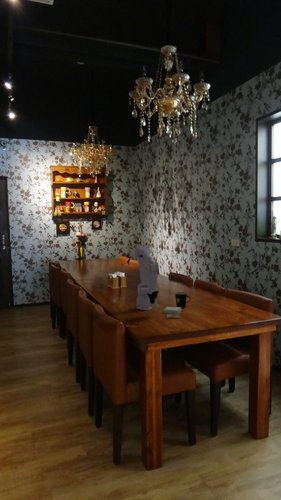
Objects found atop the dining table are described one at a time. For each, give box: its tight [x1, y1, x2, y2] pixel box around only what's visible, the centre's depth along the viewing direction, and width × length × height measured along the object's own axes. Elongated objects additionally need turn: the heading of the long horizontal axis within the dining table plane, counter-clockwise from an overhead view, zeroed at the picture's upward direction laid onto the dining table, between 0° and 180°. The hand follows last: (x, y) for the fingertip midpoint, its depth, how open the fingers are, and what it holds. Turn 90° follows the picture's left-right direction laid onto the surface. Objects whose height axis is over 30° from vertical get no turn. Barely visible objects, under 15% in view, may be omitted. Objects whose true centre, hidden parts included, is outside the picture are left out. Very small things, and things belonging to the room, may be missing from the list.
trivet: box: [165, 313, 181, 320], centre depth 211 cm, size 8×8×1 cm
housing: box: [147, 297, 160, 308], centre depth 216 cm, size 7×4×5 cm, turn 72°
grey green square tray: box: [163, 306, 182, 315], centre depth 224 cm, size 10×10×2 cm
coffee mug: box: [174, 291, 192, 309], centre depth 235 cm, size 12×9×10 cm
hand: (153, 302), depth 216 cm, fingers closed on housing, 4 cm apart
